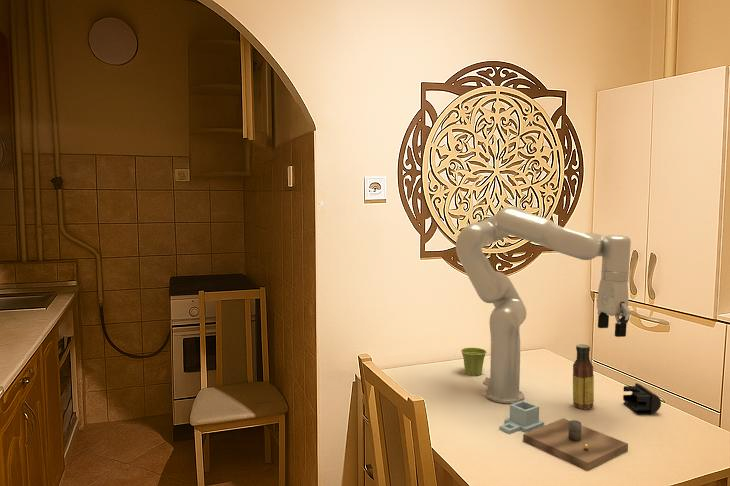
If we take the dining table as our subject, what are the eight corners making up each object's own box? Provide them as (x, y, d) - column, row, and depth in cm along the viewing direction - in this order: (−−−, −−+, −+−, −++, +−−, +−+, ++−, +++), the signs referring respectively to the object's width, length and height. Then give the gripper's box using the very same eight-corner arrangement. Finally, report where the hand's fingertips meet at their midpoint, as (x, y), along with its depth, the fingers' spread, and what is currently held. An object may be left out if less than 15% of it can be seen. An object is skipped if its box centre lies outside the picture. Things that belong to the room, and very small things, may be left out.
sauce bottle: (593, 404, 181) (595, 344, 179) (594, 411, 175) (596, 349, 173) (571, 401, 183) (573, 342, 181) (571, 408, 177) (573, 347, 175)
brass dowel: (582, 449, 146) (582, 444, 145) (585, 448, 146) (585, 442, 146) (586, 451, 145) (586, 445, 145) (589, 450, 145) (589, 444, 145)
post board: (523, 440, 155) (523, 418, 155) (563, 424, 165) (563, 403, 165) (587, 470, 139) (588, 445, 138) (627, 450, 149) (628, 427, 148)
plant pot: (460, 368, 217) (460, 346, 216) (485, 369, 215) (485, 347, 215) (461, 376, 207) (461, 354, 207) (487, 377, 206) (487, 355, 205)
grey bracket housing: (522, 416, 172) (522, 398, 171) (543, 425, 165) (544, 406, 164) (493, 426, 164) (494, 408, 164) (515, 436, 158) (515, 417, 157)
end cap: (660, 415, 172) (661, 394, 171) (638, 416, 172) (639, 394, 171) (643, 403, 182) (644, 382, 181) (622, 403, 182) (623, 383, 181)
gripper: (588, 271, 176) (585, 325, 178) (618, 281, 159) (615, 340, 161) (611, 271, 177) (608, 324, 179) (643, 281, 160) (639, 339, 162)
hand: (611, 332), depth 170 cm, fingers open, 9 cm apart
